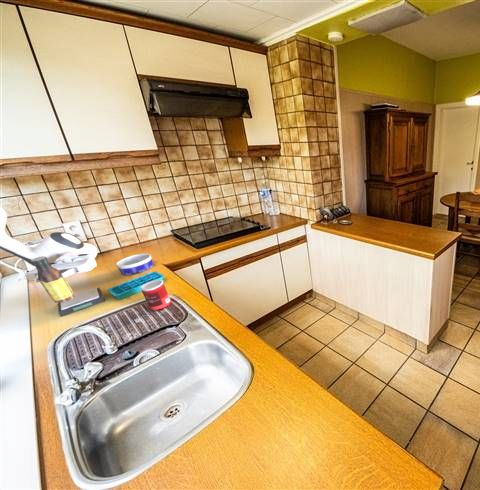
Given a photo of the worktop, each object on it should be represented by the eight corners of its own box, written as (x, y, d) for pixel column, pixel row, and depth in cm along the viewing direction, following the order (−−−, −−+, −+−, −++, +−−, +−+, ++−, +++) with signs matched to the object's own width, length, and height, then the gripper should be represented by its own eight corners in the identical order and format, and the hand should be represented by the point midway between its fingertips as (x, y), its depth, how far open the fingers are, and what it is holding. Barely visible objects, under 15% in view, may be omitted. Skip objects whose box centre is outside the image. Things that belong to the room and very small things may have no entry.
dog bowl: (159, 266, 153) (155, 256, 151) (126, 278, 141) (121, 268, 139) (147, 260, 161) (143, 251, 158) (116, 271, 149) (111, 262, 147)
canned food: (168, 298, 121) (159, 277, 117) (174, 304, 117) (165, 283, 112) (148, 306, 116) (138, 285, 112) (153, 313, 111) (143, 291, 107)
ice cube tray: (109, 294, 127) (106, 289, 126) (157, 275, 142) (155, 270, 141) (117, 301, 121) (115, 296, 120) (167, 281, 136) (164, 276, 135)
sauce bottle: (59, 297, 113) (33, 256, 105) (78, 293, 116) (54, 253, 107) (50, 306, 108) (22, 263, 100) (71, 301, 110) (44, 259, 102)
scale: (61, 316, 112) (57, 311, 111) (60, 305, 121) (57, 299, 119) (105, 301, 122) (102, 295, 121) (101, 291, 130) (98, 286, 129)
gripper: (35, 262, 114) (10, 277, 102) (95, 252, 120) (77, 266, 108) (43, 275, 116) (19, 291, 104) (101, 265, 123) (85, 279, 111)
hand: (49, 278), depth 106 cm, fingers closed on sauce bottle, 6 cm apart
